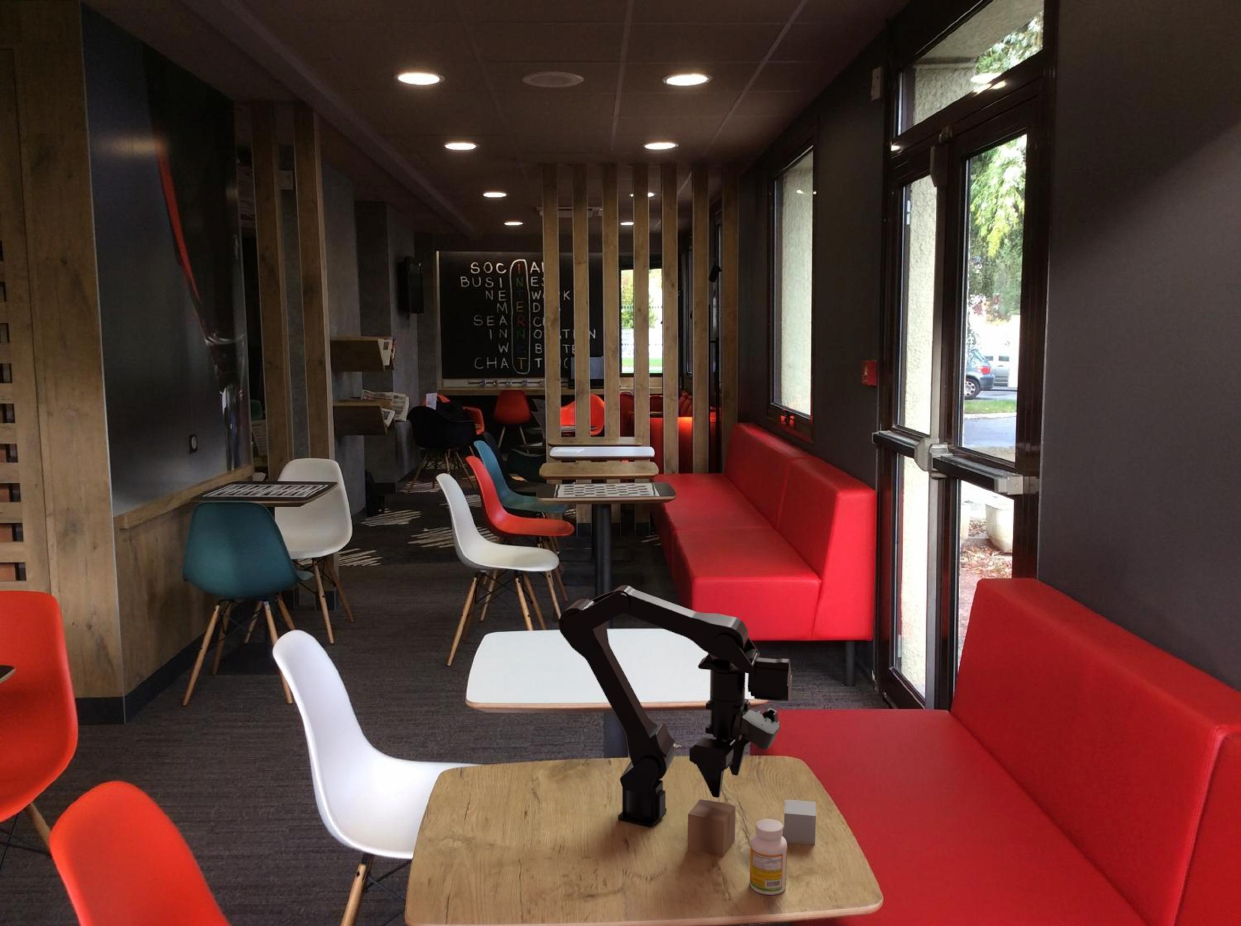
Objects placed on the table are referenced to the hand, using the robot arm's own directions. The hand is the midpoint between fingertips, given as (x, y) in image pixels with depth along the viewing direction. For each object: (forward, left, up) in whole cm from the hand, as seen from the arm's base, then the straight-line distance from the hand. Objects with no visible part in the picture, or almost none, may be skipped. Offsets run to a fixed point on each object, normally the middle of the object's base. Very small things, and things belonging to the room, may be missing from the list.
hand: (725, 785), depth 172 cm
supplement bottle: (+12, -14, -7) cm, 20 cm away
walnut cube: (0, -3, -4) cm, 6 cm away
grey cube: (+12, +3, -7) cm, 14 cm away
